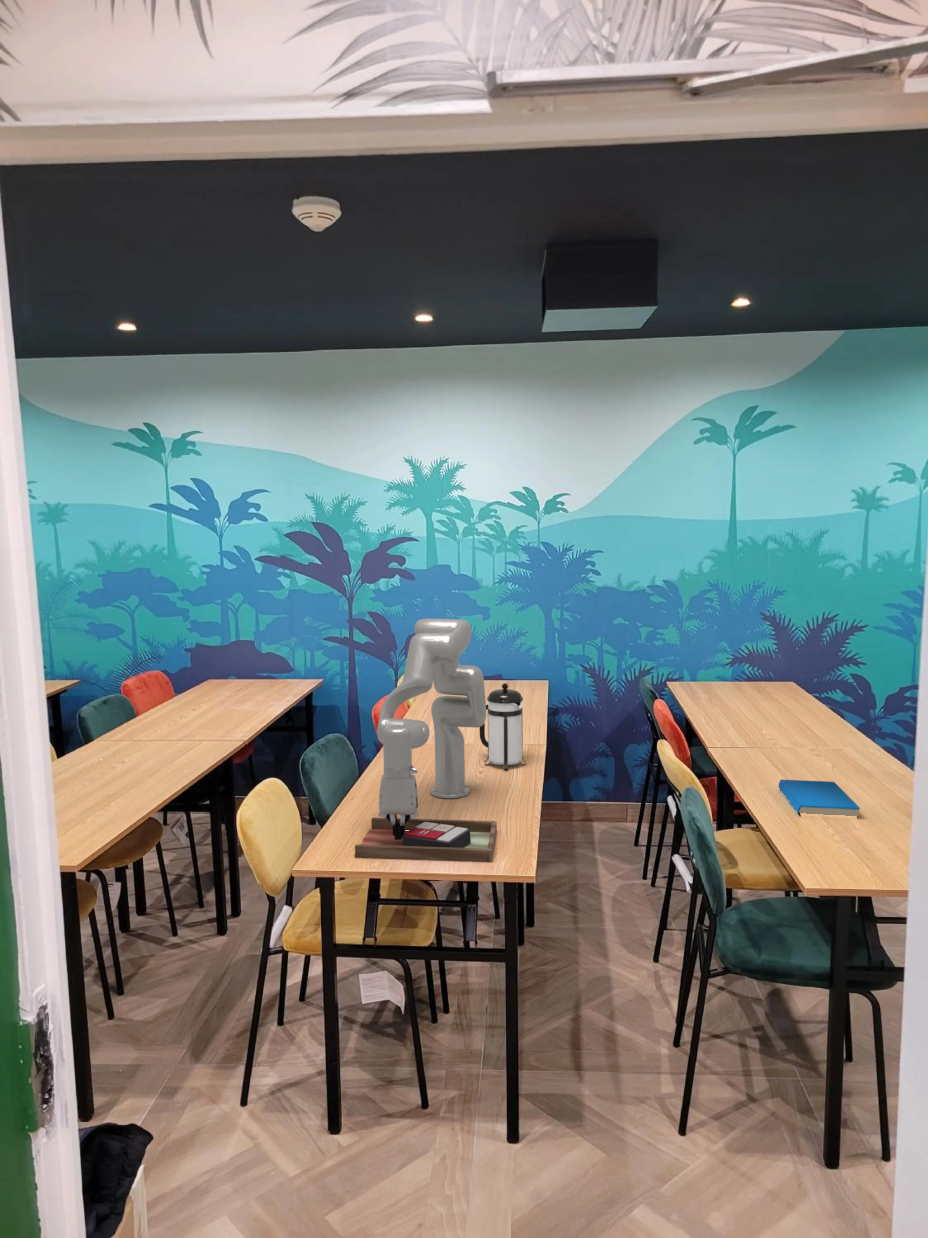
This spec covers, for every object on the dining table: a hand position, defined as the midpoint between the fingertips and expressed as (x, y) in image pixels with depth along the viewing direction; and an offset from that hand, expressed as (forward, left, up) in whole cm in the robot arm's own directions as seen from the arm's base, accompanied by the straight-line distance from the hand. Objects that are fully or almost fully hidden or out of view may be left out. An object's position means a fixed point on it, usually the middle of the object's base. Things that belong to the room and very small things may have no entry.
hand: (398, 838), depth 213 cm
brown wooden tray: (0, +8, -2) cm, 8 cm away
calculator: (0, +10, -2) cm, 10 cm away
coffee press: (-76, +24, -2) cm, 80 cm away
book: (-41, +122, -2) cm, 129 cm away
